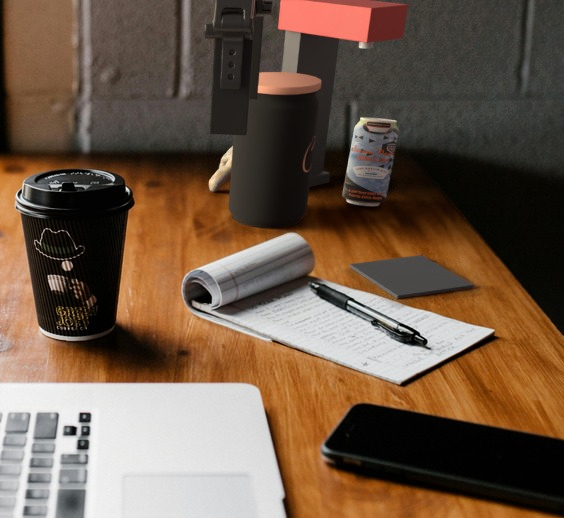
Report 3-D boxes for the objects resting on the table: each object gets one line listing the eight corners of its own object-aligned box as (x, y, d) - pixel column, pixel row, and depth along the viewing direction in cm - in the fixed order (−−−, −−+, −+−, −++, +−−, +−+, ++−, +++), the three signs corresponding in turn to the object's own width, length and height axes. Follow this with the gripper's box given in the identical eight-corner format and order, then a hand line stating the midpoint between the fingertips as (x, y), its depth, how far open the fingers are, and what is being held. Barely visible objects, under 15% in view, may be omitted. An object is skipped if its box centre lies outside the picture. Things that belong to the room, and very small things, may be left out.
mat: (420, 257, 105) (421, 254, 105) (473, 288, 97) (474, 284, 97) (349, 267, 103) (349, 264, 103) (397, 298, 95) (397, 295, 95)
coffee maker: (301, 173, 137) (321, -8, 124) (388, 201, 125) (421, 3, 111) (257, 183, 133) (273, -4, 119) (342, 212, 120) (371, 8, 107)
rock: (224, 159, 145) (227, 115, 141) (255, 161, 144) (259, 117, 140) (206, 194, 128) (210, 145, 124) (241, 197, 127) (246, 148, 123)
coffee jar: (312, 230, 114) (329, 87, 105) (231, 229, 114) (242, 87, 105) (298, 205, 123) (313, 71, 114) (224, 205, 123) (233, 71, 114)
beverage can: (338, 209, 122) (350, 121, 116) (345, 194, 128) (356, 110, 121) (384, 214, 120) (398, 125, 114) (388, 199, 126) (403, 113, 120)
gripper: (219, -193, 70) (205, 84, 81) (177, -231, 49) (167, 149, 60) (313, -195, 68) (286, 87, 79) (312, -235, 48) (276, 154, 59)
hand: (235, 114), depth 70 cm, fingers open, 13 cm apart
